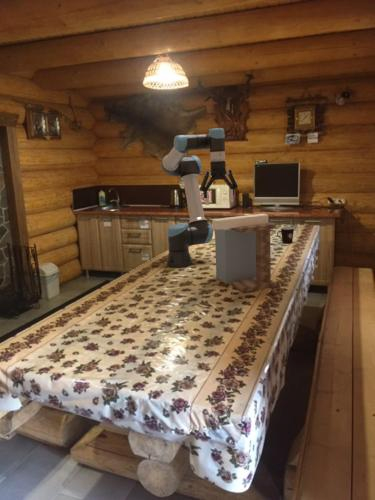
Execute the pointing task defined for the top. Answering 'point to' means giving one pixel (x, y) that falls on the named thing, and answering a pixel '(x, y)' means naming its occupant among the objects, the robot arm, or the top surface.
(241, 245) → the slate podium
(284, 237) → the coffee mug
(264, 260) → the walnut stand
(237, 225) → the pale wooden bar
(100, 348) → the top surface
